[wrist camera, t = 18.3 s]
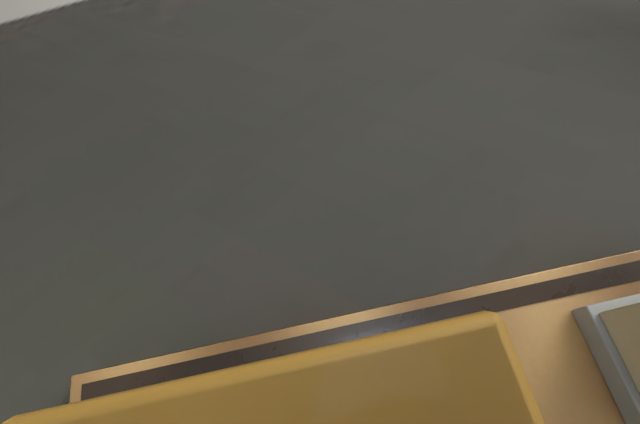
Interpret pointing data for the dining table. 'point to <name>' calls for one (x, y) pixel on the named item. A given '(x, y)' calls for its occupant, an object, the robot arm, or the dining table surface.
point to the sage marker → (340, 385)
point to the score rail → (501, 297)
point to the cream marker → (616, 348)
